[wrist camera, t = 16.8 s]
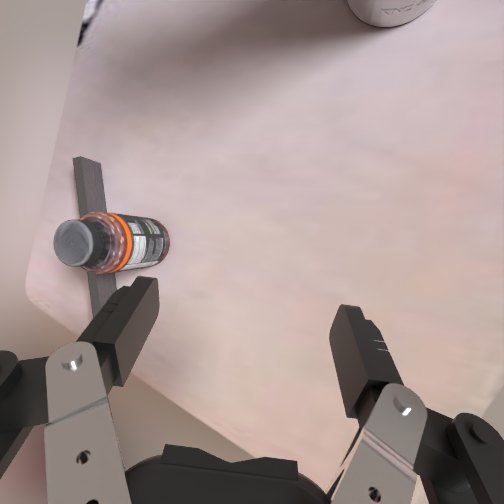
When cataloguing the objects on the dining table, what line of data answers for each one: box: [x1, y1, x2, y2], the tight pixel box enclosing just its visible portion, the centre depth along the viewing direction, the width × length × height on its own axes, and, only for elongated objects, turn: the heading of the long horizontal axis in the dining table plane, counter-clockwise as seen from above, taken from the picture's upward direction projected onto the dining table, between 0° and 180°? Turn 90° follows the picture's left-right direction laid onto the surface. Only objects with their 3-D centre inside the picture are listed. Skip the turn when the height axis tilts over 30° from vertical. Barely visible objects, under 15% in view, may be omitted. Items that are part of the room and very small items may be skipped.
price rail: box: [73, 156, 117, 319], centre depth 34 cm, size 20×2×3 cm, turn 7°
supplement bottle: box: [54, 212, 170, 274], centre depth 29 cm, size 6×6×11 cm
